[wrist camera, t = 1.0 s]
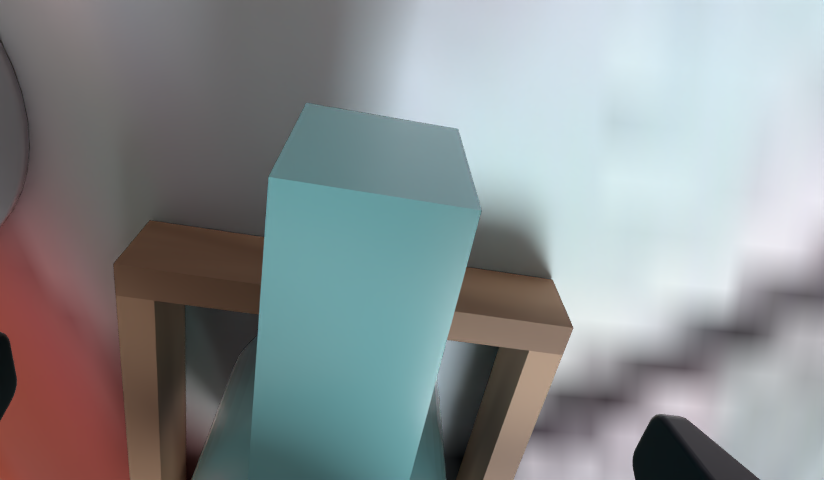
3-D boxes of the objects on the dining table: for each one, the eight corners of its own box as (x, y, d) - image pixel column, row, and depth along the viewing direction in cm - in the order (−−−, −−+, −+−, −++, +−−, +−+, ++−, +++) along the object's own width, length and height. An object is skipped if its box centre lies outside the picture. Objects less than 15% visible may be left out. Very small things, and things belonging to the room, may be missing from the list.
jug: (417, 478, 18) (433, 940, 10) (226, 458, 18) (73, 932, 9) (522, 101, 13) (767, 456, 4) (242, 51, 12) (-120, 351, 4)
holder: (464, 525, 19) (471, 584, 18) (160, 495, 18) (135, 555, 17) (552, 279, 15) (572, 327, 13) (149, 220, 14) (112, 264, 12)
